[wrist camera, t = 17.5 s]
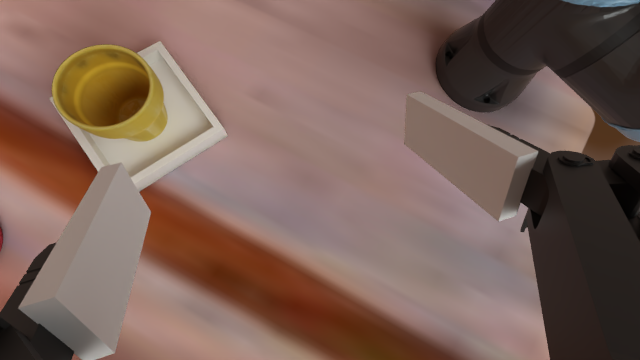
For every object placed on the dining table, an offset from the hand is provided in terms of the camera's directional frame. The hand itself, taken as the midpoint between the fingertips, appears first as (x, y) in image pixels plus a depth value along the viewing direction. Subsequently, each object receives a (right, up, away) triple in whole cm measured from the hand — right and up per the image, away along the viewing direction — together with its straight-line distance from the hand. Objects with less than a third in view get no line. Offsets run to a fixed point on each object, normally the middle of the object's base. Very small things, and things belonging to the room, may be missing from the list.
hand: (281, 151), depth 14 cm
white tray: (-23, +7, +29) cm, 38 cm away
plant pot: (-23, +7, +28) cm, 37 cm away
